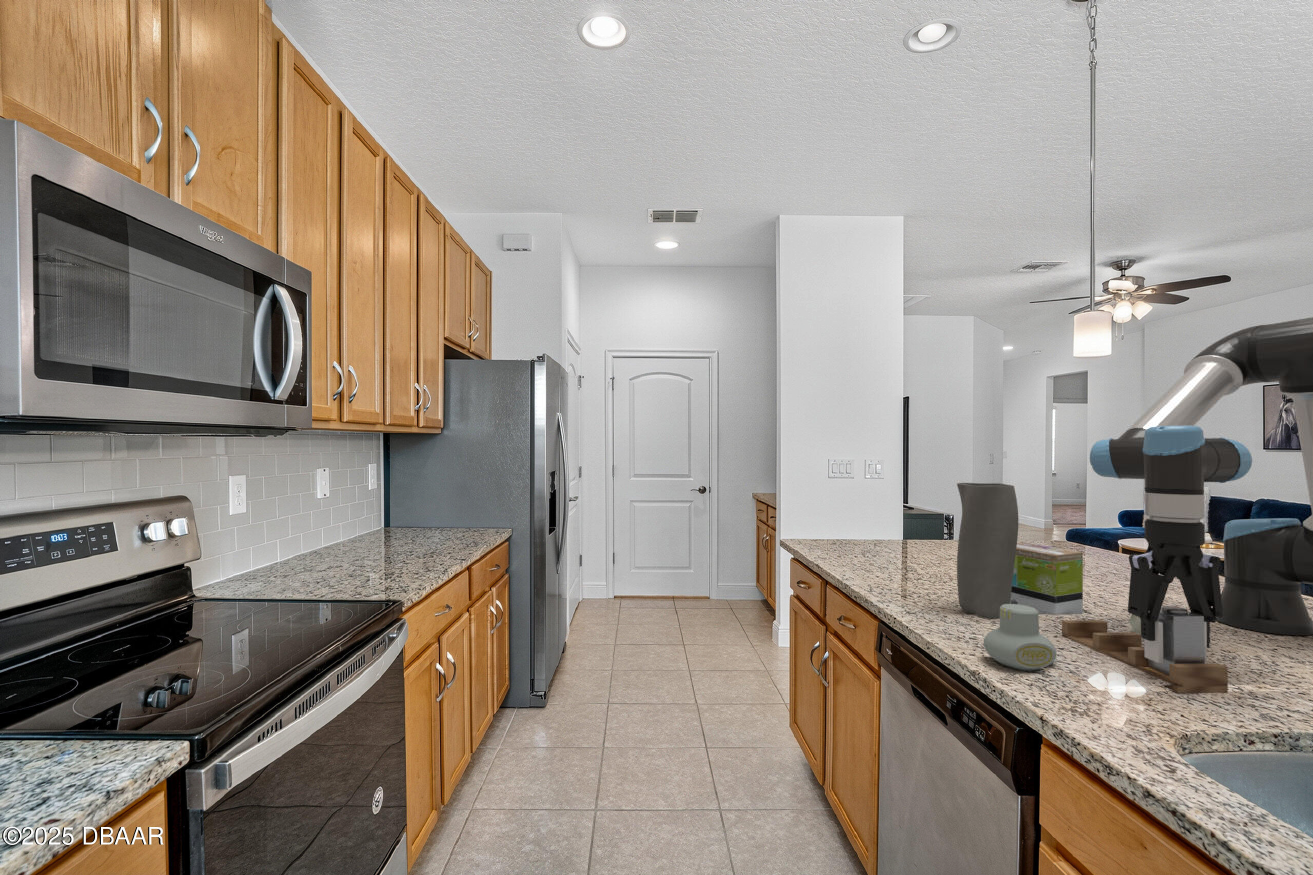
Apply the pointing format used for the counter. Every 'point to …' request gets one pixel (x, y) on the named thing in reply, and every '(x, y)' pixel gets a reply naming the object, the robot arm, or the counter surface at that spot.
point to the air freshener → (1019, 640)
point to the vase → (986, 547)
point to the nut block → (1180, 639)
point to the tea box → (1048, 579)
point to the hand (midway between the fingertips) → (1175, 659)
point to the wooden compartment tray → (1133, 654)
